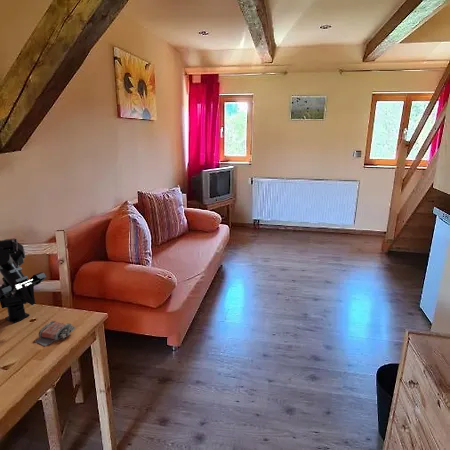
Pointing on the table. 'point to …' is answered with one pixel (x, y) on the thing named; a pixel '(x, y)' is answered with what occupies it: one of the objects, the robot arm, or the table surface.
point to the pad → (44, 341)
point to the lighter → (56, 330)
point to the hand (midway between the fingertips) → (33, 304)
